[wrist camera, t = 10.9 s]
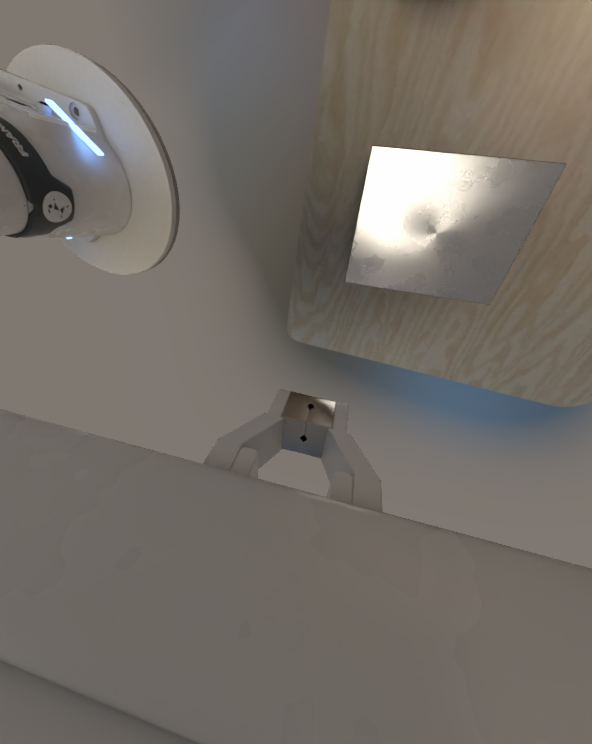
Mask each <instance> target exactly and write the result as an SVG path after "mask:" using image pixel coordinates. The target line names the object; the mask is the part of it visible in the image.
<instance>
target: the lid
mask: <svg viewBox="0 0 592 744" xmlns="http://www.w3.org/2000/svg"><path fill="white" fill-rule="evenodd" d="M566 165H567V164H566V163H556V162H546V161H535V160H525V159H514V158H503V157H493V156H482V155H471V154H461V153H450V152H439V151H429V150H418V149H407V148H397V147H386V146H375V145H372V148H371V153H370V158H369V163H368V168H367V173H366V178H365V183H364V188H363V193H362V198H361V203H360V208H359V213H358V218H357V223H356V228H355V233H354V238H353V243H352V248H351V253H350V258H349V263H348V268H347V273H346V278H345V282H346V283H353V284H359V285H366V286H372V287H378V288H385V289H391V290H398V291H404V292H410V293H417V294H423V295H430V296H436V297H442V298H449V299H455V300H462V301H468V302H474V303H481V304H487V305H490V303H491V301H492V300H493V298H494V296H495V294H496V292H497V290H498V289H499V287H500V285H501V283H502V281H503V280H504V278H505V276H506V274H507V272H508V270H509V269H510V267H511V265H512V263H513V261H514V259H515V258H516V256H517V254H518V252H519V250H520V249H521V247H522V245H523V243H524V241H525V239H526V238H527V236H528V234H529V232H530V230H531V228H532V227H533V225H534V223H535V221H536V219H537V218H538V216H539V214H540V212H541V210H542V208H543V207H544V205H545V203H546V201H547V199H548V198H549V196H550V194H551V192H552V190H553V188H554V187H555V185H556V183H557V181H558V179H559V177H560V176H561V174H562V172H563V170H564V168H565V167H566Z"/></svg>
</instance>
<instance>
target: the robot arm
mask: <svg viewBox="0 0 592 744" xmlns="http://www.w3.org/2000/svg"><path fill="white" fill-rule="evenodd" d="M78 110H79V112H78ZM79 113H80V115H79ZM131 206H132V201H131V192H130V187H129V183H128V179H127V176H126V174H125V171H124V169H123V166H122V164H121V162H120V160H119V159H118V157H117V155H116V153H115V152H114V150H113V149H112V147H111V146H110V144H109V143H108V141H107V139H106V137H105V135H104V132H103V129H102V127H101V124H100V121H99V119H98V116H97V114H96V112H95V110H94V109H93V108H92V107H91V106H90V105H89V104H87V103H85V102H82V101H80V100H77V99H75V98H72V97H70V96H67V95H65V94H62V93H60V92H57V91H55V90H52V89H50V88H48V87H45V86H43V85H40V84H38V83H35V82H33V81H30V80H28V79H25V78H23V77H20V76H18V75H15V74H13V73H10V72H8V71H5V70H3V69H0V236H3V235H5V236H8V237H15V238H18V237H23V238H25V237H26V238H27V237H36V236H37V235H41V236H42V237H44V238H47V239H59V238H67V239H72V238H81V239H82V240H83V241H85V242H94V241H96V240H97V239H98V238H99V237H100V236H102V235H110V234H115V233H118V232H120V231H121V230H122V229H123V228H124V227H125V226H126V224H127V223H128V221H129V218H130V214H131ZM348 409H349V405H348V404H347V403H342V402H336V401H331V400H326V399H322V398H317V397H312V396H309V395H304V394H300V393H296V392H291V391H287V390H283V389H279V390H278V392H277V395H276V397H275V399H274V401H273V403H272V405H271V408H270V410H269V412H268V414H267V413H264V414H262V415H260V416H258V417H256V418H255V419H253V420H251V421H249V422H248V423H246V424H244V425H242V426H240V427H239V428H237V429H235V430H233V431H232V432H230V433H228V434H226V435H224V436H223V437H221V438H219V439H218V440H217V442H216V444H215V445H214V447H213V448H212V450H211V452H210V453H209V455H208V456H207V458H206V460H205V462H204V463H203V464H202V463H198V462H194V461H191V460H187V459H183V458H180V457H176V456H172V455H168V454H165V453H161V452H157V451H154V450H150V449H146V448H142V447H139V446H135V445H131V444H127V443H124V442H120V441H117V440H113V439H109V438H105V437H102V436H98V435H94V434H90V433H87V432H83V431H79V430H76V429H72V428H68V427H64V426H61V425H57V424H53V423H50V422H46V421H42V420H38V419H34V418H31V417H27V416H23V415H20V414H16V413H13V412H9V411H6V410H3V409H0V744H592V569H591V568H587V567H584V566H580V565H576V564H572V563H569V562H565V561H561V560H558V559H554V558H550V557H546V556H543V555H539V554H535V553H532V552H528V551H524V550H520V549H517V548H513V547H509V546H506V545H502V544H498V543H495V542H491V541H487V540H483V539H480V538H476V537H472V536H469V535H465V534H461V533H458V532H454V531H450V530H447V529H443V528H439V527H435V526H432V525H428V524H424V523H421V522H417V521H413V520H410V519H406V518H402V517H398V516H395V515H391V514H387V513H384V512H382V492H381V480H380V478H379V477H378V475H377V474H376V472H375V471H374V469H373V468H372V466H371V465H370V463H369V462H368V460H367V458H366V457H365V456H364V454H363V452H362V451H361V449H360V448H359V446H358V445H357V443H356V442H355V440H354V439H353V437H352V435H351V434H350V433H347V420H348ZM281 449H286V450H290V451H295V452H299V453H303V454H307V455H310V456H314V457H318V458H321V461H322V463H323V466H324V468H325V471H326V473H327V476H328V479H329V481H330V487H329V490H328V493H327V496H326V497H324V496H320V495H316V494H313V493H309V492H306V491H302V490H298V489H294V488H290V487H287V486H283V485H280V484H276V483H272V482H269V481H264V480H261V479H258V469H259V468H260V467H262V466H263V465H264V464H265V463H266V462H267V461H269V460H270V459H271V458H272V457H273V456H275V455H276V454H277V453H278V452H279V451H280V450H281Z"/></svg>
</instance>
